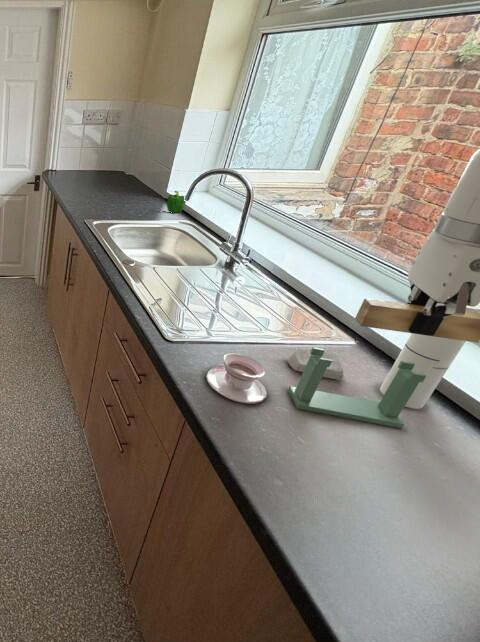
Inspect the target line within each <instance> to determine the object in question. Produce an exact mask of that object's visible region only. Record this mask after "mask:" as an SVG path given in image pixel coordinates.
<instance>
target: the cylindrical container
mask: <svg viewBox="0 0 480 642" xmlns="http://www.w3.org/2000/svg"><path fill="white" fill-rule="evenodd" d="M448 299H449V297H448ZM440 305H442V306H444V304H442V303H437V305H436V306H440ZM466 311H467V312H475V313H480V303H479V304H478V305H477V306H475V307H471V306H466ZM466 342H467V341H462V340H455V339H448V338H441V337H434V336H427V335H420V334H413V333H410V335H409V337H408V338H407V340H406V342H405V344H404V345H403V346H402V349H401V350H400V352H399V354H398V356H397V358H396V360H395V361H394V363H393V365H392V367H391V368H390V370H389V371H388V373H387V375H386V377H385V379H384V381H383V383H382V384H381V386H380V388H379V391H380V393H381V395H383V396H384V394H385V392H386V391H387V389H388V387H389V386H390V384H391V382H392V380H393V379H394V377H395V375H396V374H397V372H398V370H399V368H398V365H399V364H400V362H401V361H405V362H412V363H414V364H415V365H414V367H413V369H412V370H409V371H412V372H413V373H420V374H425V375H426V378H425V379H424V381H423V382H419V384H418V385H417V387H416V389H415V390H414V392H413V393H412V395H411V397H410V398H409V400H408V401H407V403H406V405H405V406H404V408H409V409H416V410H417V409H422V408H424V407H425V406H426V404H427V403H428V401H429V400H430V397H431V396H432V394H433V393H434V391H435V390H436V388H437V386H438V385H439V384H440V382H441V381H442V379H443V377H444V376H445V374H446V373H447V371H448V370H449V368H450V367H451V365H452V364H453V362H454V360H455V359H456V357H457V356H458V355H459V353H460V352H461V350H462V348H463V347H464V345H465V343H466ZM403 370H404V369H403Z"/></svg>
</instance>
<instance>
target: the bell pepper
mask: <svg viewBox="0 0 480 642" xmlns="http://www.w3.org/2000/svg"><path fill="white" fill-rule="evenodd" d="M184 197H185V198H186V196H185V195H180V193H179V191H178V190H174V194H169V195H168V197H167V200H166V209H167V211H168V212H169V213H172V214H177V213H181V212H182V211H183V209H184V207H185V205H186V203H187V200H186V201H184Z"/></svg>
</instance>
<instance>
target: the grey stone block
mask: <svg viewBox="0 0 480 642" xmlns="http://www.w3.org/2000/svg"><path fill="white" fill-rule="evenodd" d="M311 350H312V348H311V349H310V348H303V347H297V348H296V349H295V350H294V351H293V352H292V353H291V354H290V356H289V358H288V359H287V363H288V364H289V366H290V368H292V370H294V371H297V372H301V373H303V372H304V369H305V367H306V365H307V363H308V361H309V358H310V356H311V354H310V352H311ZM314 356H316V355H314ZM320 357H322V358H325V359H331V360H332V363H331V365H330V367H327V368H326V370H325V372H324V375H323V377H322V378H327V379H332V380H337V381H340V380H342V379H343V377H345V373H344V367H343V365H342V363H341V361H340V355H339V354H338V353H336V352H330V351H326V350H325V351H324V353H323V355H322V356H320Z"/></svg>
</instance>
